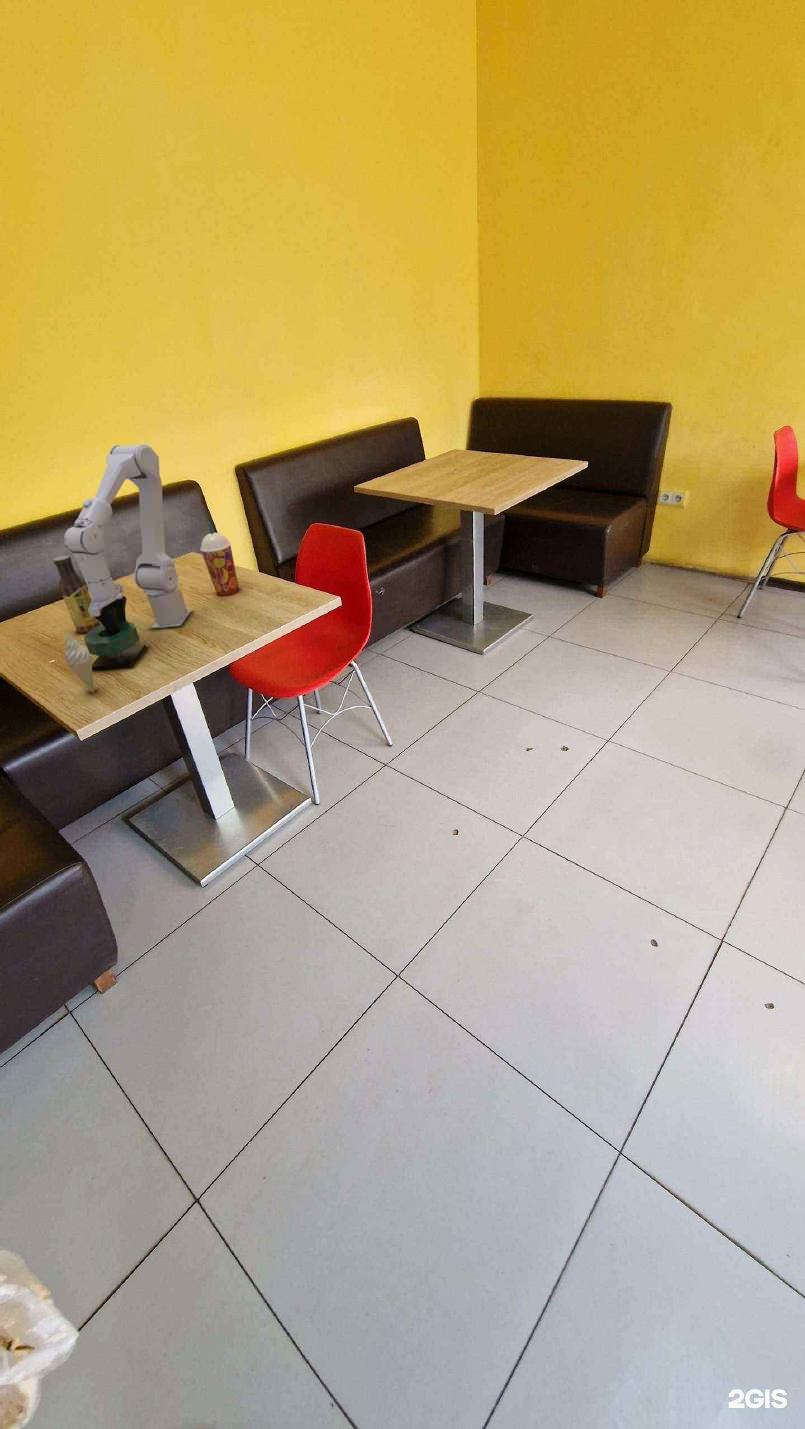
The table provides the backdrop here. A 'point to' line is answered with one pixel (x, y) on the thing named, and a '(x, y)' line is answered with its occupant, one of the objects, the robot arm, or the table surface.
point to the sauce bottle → (75, 595)
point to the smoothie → (219, 562)
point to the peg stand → (119, 659)
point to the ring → (111, 639)
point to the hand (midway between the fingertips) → (118, 631)
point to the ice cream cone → (79, 661)
